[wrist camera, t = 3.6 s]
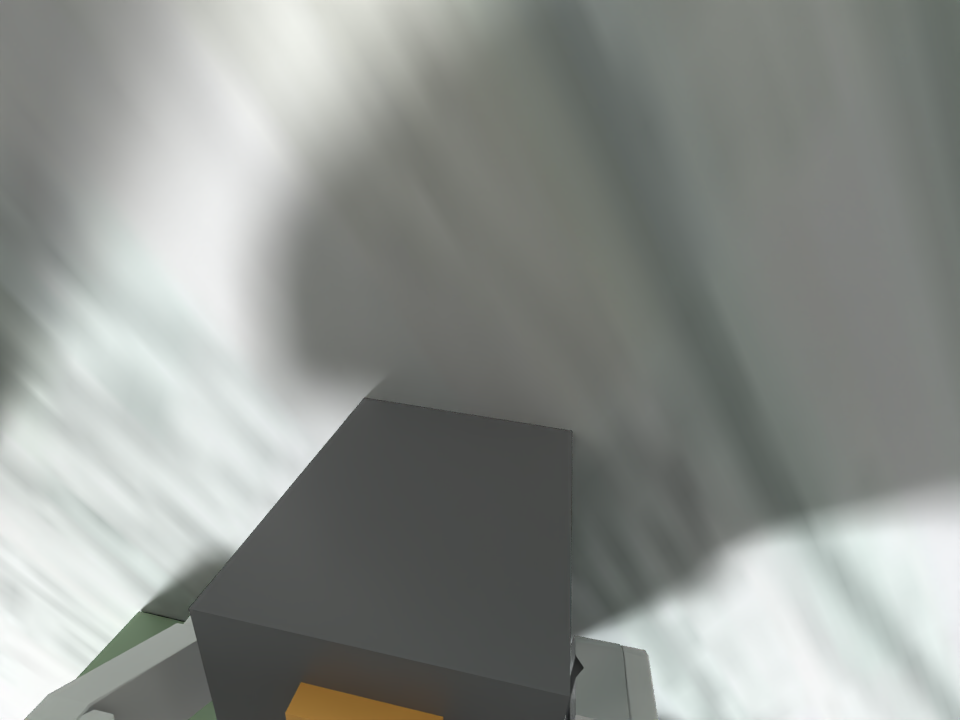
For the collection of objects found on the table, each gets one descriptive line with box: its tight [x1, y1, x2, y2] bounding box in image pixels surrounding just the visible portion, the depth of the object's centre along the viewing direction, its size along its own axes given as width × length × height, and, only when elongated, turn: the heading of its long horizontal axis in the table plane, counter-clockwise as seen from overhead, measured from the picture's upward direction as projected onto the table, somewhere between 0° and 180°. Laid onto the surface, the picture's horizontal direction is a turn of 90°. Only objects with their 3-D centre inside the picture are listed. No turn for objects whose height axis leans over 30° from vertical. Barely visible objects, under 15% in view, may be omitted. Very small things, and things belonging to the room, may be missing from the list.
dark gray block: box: [189, 398, 572, 720], centre depth 10 cm, size 5×8×6 cm, turn 176°
